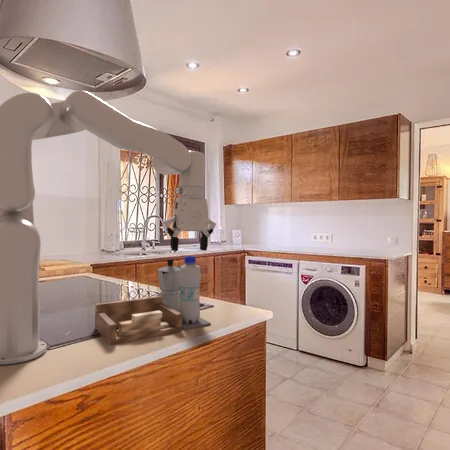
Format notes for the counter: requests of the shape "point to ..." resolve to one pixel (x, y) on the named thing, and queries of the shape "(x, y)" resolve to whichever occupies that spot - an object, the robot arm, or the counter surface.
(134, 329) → the offcut stack
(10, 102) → the robot arm
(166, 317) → the rack
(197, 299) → the bottle
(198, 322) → the mat
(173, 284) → the coffee maker
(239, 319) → the counter surface
